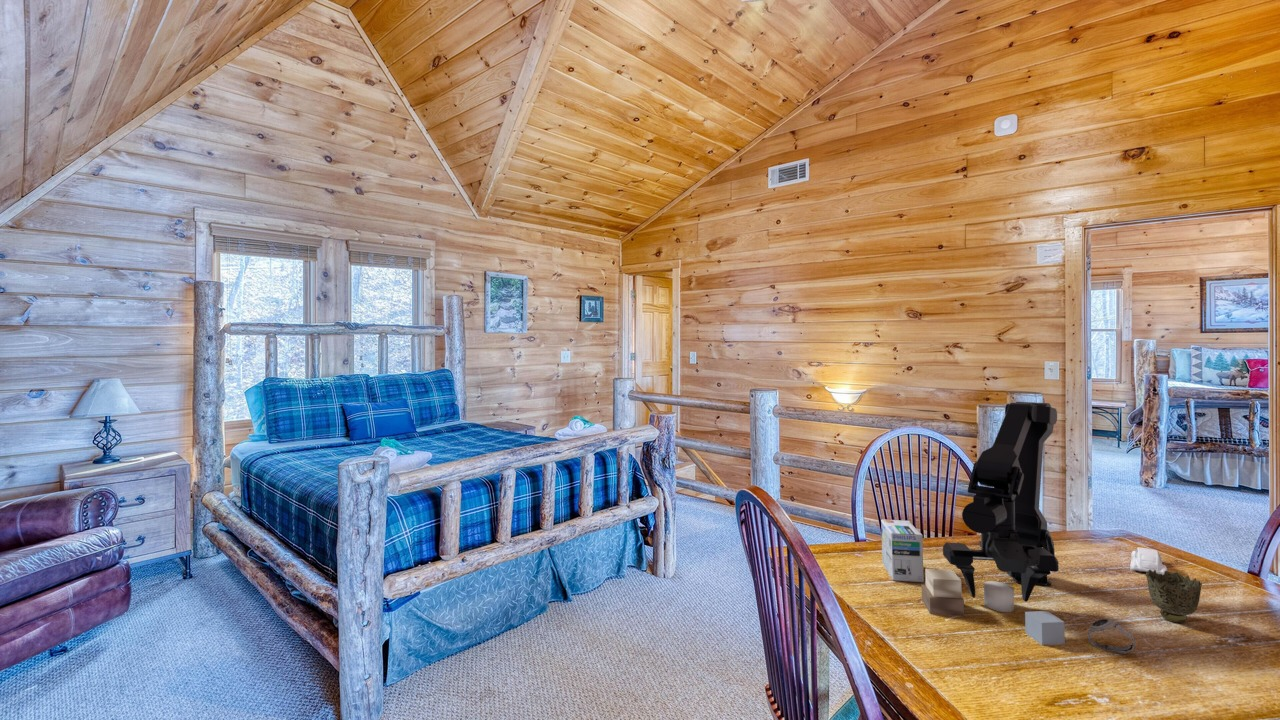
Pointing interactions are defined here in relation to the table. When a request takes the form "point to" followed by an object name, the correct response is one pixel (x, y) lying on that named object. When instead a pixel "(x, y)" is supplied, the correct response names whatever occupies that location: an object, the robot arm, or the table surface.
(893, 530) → the light bulb box
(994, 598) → the white cylinder
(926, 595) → the tower base
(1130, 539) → the table surface
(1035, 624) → the block
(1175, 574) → the cup
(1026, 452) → the robot arm
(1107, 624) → the wristwatch
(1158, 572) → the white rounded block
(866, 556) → the table surface
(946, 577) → the tower top
